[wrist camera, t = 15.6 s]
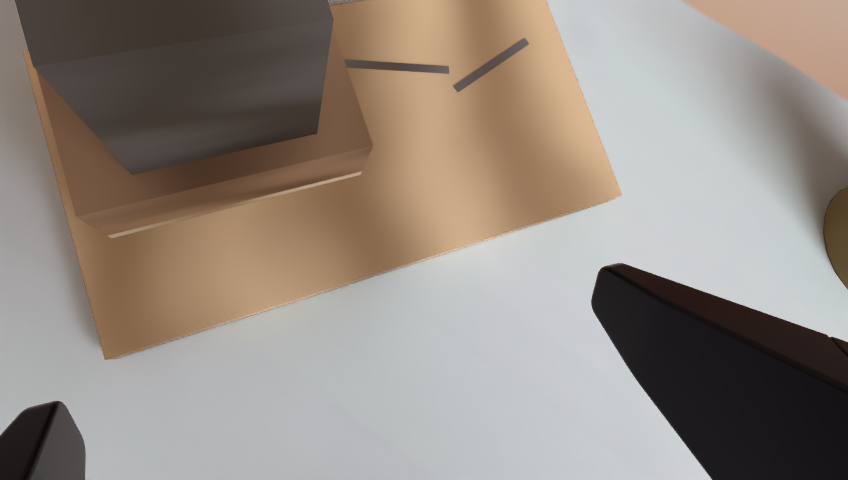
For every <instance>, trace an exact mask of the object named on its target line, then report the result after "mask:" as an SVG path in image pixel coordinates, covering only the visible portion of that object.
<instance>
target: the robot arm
mask: <svg viewBox="0 0 848 480" xmlns="http://www.w3.org/2000/svg"><path fill="white" fill-rule="evenodd" d="M591 304H592V309H593V311H594V313H595V315H596V317H597V318H598V320H599V321H600V323H601V325H602V326H603V328H604V329H605V331H606V333H607V334H608V336H609V337H610V339H611V341H612V342H613V344H614V346H615V347H616V349H617V350H618V352H619V354H620V355H621V357H622V358H623V360H624V362H625V363H626V365H627V366H628V368H629V370H630V371H631V373H632V374H633V376H634V377H635V378H636V380H637V381H638V383H639V384H640V385H641V387H642V388H643V389H644V391H645V392H646V393H647V395H648V396H649V397H650V399H651V400H652V401H653V402H654V404H655V405H656V406H657V408H658V409H659V410H660V412H661V413H662V414H663V416H664V417H665V418H666V420H667V421H668V422H669V424H670V425H671V426H672V427H673V429H674V430H675V431H676V433H677V434H678V435H679V437H680V438H681V439H682V441H683V442H684V443H685V445H686V446H687V447H688V448H689V450H690V451H691V452H692V454H693V455H694V456H695V458H696V459H697V460H698V462H699V463H700V464H701V466H702V467H703V468H704V469H705V471H706V472H707V473H708V475H709V476H710V477H711V479H712V480H848V342H846V341H843V340H840V339H837V338H834V337H828V336H827V335H826V334H823V333H820V332H817V331H814V330H811V329H808V328H806V327H803V326H800V325H797V324H794V323H791V322H788V321H786V320H783V319H780V318H777V317H774V316H771V315H768V314H766V313H763V312H760V311H757V310H754V309H751V308H749V307H746V306H743V305H740V304H737V303H734V302H731V301H729V300H726V299H723V298H720V297H717V296H714V295H711V294H709V293H706V292H703V291H700V290H697V289H694V288H691V287H689V286H686V285H683V284H680V283H677V282H674V281H672V280H669V279H666V278H663V277H660V276H657V275H654V274H652V273H649V272H646V271H643V270H640V269H637V268H634V267H632V266H629V265H626V264H623V263H617V264H613V265H608V266H605V267H603V268H601V269H600V271H599V272H598V275H597V279H596V283H595V287H594V291H593V295H592V300H591ZM85 456H86V455H85V445H84V441H83V438H82V435H81V434H80V432H79V430H78V428H77V426H76V424H75V422H74V420H73V418H72V417H71V415H70V413H69V411H68V409H67V407H66V406H65V405H64V404H63V403H62V402H60V401H53V402H49V403H45V404H41V405H37V406H33V407H29V408H27V409H25V410H24V411H22V412H21V413H20V414H19V415H18V416H17V417H16V419H15V420H14V421H13V422H12V423H11V424H10V425H9V426H8V427H7V429H6V430H5V431H4V432H3V433H2V434H1V435H0V480H85Z"/></svg>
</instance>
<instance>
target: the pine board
mask: <svg viewBox="0 0 848 480" xmlns="http://www.w3.org/2000/svg"><path fill="white" fill-rule="evenodd" d="M329 7H330V10H331V13H332V16H333V19H334V21H333V29H334V31H335V34H336V37H337V40H338V43H339V46H340V49H341V52H342V55H343V58H344V61H345V64H346V67H347V70H348V73H349V76H350V79H351V82H352V84H353V87H354V90H355V93H356V96H357V99H358V102H359V105H360V108H361V111H362V114H363V117H364V120H365V123H366V126H367V129H368V132H369V134H370V137H371V140H372V143H373V148H372V150H371V152H370V154H369V157H368V159H367V161H366V164H365V166H364V168H363V170H362V173H361V175H358V176H354V177H350V178H346V179H342V180H338V181H334V182H331V183H327V184H323V185H319V186H315V187H311V188H307V189H303V190H299V191H295V192H291V193H287V194H284V195H280V196H276V197H272V198H268V199H264V200H260V201H256V202H252V203H248V204H244V205H240V206H237V207H233V208H229V209H225V210H221V211H217V212H213V213H209V214H205V215H201V216H197V217H193V218H190V219H186V220H182V221H178V222H174V223H170V224H166V225H162V226H158V227H154V228H150V229H147V230H143V231H139V232H135V233H131V234H127V235H123V236H119V237H115V238H110V237H108V236H107V235H105V234H103V233H102V232H100V231H98V230H97V229H95V228H93V227H92V226H90V225H88V224H87V223H85V222H83V221H82V220H80V219H79V218H77V217H76V215H75V212H74V208H73V204H72V201H71V197H70V193H69V190H68V186H67V182H66V178H65V175H64V171H63V167H62V164H61V160H60V156H59V153H58V149H57V145H56V141H55V138H54V134H53V130H52V127H51V123H50V119H49V116H48V112H47V108H46V105H45V101H44V97H43V93H42V90H41V86H40V82H39V79H38V75H37V71H36V69H35V68H34V67H33V65H32V61H31V57H30V54H29V50H27V51H23V55H24V59H25V62H26V66H27V70H28V74H29V77H30V81H31V85H32V89H33V92H34V96H35V100H36V104H37V107H38V111H39V115H40V119H41V122H42V126H43V130H44V133H45V137H46V141H47V145H48V148H49V152H50V156H51V160H52V163H53V167H54V171H55V175H56V178H57V182H58V186H59V190H60V193H61V197H62V201H63V205H64V208H65V212H66V216H67V219H68V223H69V227H70V231H71V234H72V238H73V242H74V246H75V249H76V253H77V257H78V261H79V264H80V268H81V272H82V276H83V279H84V283H85V287H86V291H87V294H88V298H89V302H90V305H91V309H92V313H93V317H94V320H95V324H96V328H97V332H98V335H99V339H100V343H101V347H102V350H103V354H104V358H105V360H108V359H117V358H120V357H123V356H126V355H129V354H132V353H135V352H139V351H142V350H145V349H148V348H151V347H154V346H157V345H161V344H164V343H167V342H170V341H173V340H176V339H179V338H182V337H186V336H189V335H192V334H195V333H198V332H201V331H204V330H207V329H211V328H214V327H217V326H220V325H223V324H226V323H229V322H233V321H236V320H239V319H242V318H245V317H248V316H251V315H254V314H258V313H261V312H264V311H267V310H270V309H273V308H276V307H279V306H283V305H286V304H289V303H292V302H295V301H298V300H301V299H305V298H308V297H311V296H314V295H317V294H320V293H323V292H326V291H330V290H333V289H336V288H339V287H342V286H345V285H348V284H351V283H355V282H358V281H361V280H364V279H367V278H370V277H373V276H377V275H380V274H383V273H386V272H389V271H392V270H395V269H398V268H402V267H405V266H408V265H411V264H414V263H417V262H420V261H424V260H427V259H430V258H433V257H436V256H439V255H442V254H445V253H449V252H452V251H455V250H458V249H461V248H464V247H467V246H470V245H474V244H477V243H480V242H483V241H486V240H489V239H492V238H496V237H499V236H502V235H505V234H508V233H511V232H514V231H517V230H521V229H524V228H527V227H530V226H533V225H536V224H539V223H542V222H546V221H549V220H552V219H555V218H558V217H561V216H564V215H568V214H571V213H574V212H577V211H580V210H583V209H586V208H589V207H593V206H596V205H599V204H602V203H605V202H608V201H610V200H613V199H615V198H617V197H619V196H622V194H621V191H620V188H619V186H618V183H617V181H616V178H615V176H614V173H613V170H612V168H611V165H610V163H609V160H608V158H607V155H606V152H605V150H604V147H603V145H602V142H601V140H600V137H599V134H598V132H597V129H596V127H595V124H594V122H593V119H592V116H591V114H590V111H589V109H588V106H587V104H586V101H585V98H584V96H583V93H582V91H581V88H580V86H579V83H578V80H577V78H576V75H575V73H574V70H573V68H572V65H571V62H570V60H569V57H568V55H567V52H566V50H565V47H564V44H563V42H562V39H561V37H560V34H559V32H558V29H557V26H556V24H555V21H554V19H553V16H552V14H551V11H550V8H549V6H548V3H547V1H546V0H366V1H359V2H352V3H345V4H339V5H332V6H329Z"/></svg>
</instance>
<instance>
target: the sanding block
mask: <svg viewBox="0 0 848 480" xmlns="http://www.w3.org/2000/svg"><path fill="white" fill-rule="evenodd" d="M15 2H16V5H17V9H18V13H19V17H20V20H21V24H22V28H23V31H24V35H25V39H26V42H27V46H28V50H29V54H30V57H31V61H32V65H33V67H34V68H35V69H36V71H37V75H38V79H39V82H40V86H41V90H42V93H43V97H44V101H45V105H46V108H47V112H48V116H49V119H50V123H51V127H52V130H53V134H54V138H55V141H56V145H57V149H58V153H59V156H60V160H61V164H62V167H63V171H64V175H65V178H66V182H67V186H68V190H69V193H70V197H71V201H72V204H73V208H74V212H75V215H76V217H77V218H79V219H80V220H82V221H83V222H85V223H87V224H88V225H90V226H92V227H93V228H95V229H97V230H98V231H100V232H102V233H103V234H105V235H107V236H108V237H110V238H115V237H119V236H123V235H127V234H131V233H135V232H139V231H143V230H147V229H150V228H154V227H158V226H162V225H166V224H170V223H174V222H178V221H182V220H186V219H190V218H193V217H197V216H201V215H205V214H209V213H213V212H217V211H221V210H225V209H229V208H233V207H237V206H240V205H244V204H248V203H252V202H256V201H260V200H264V199H268V198H272V197H276V196H280V195H284V194H287V193H291V192H295V191H299V190H303V189H307V188H311V187H315V186H319V185H323V184H327V183H331V182H334V181H338V180H342V179H346V178H350V177H354V176H358V175H361V173H362V170H363V168H364V166H365V164H366V161H367V159H368V157H369V154H370V152H371V150H372V148H373V143H372V140H371V137H370V134H369V132H368V129H367V126H366V123H365V120H364V117H363V114H362V111H361V108H360V105H359V102H358V99H357V96H356V93H355V90H354V87H353V84H352V82H351V79H350V76H349V73H348V70H347V67H346V64H345V61H344V58H343V55H342V52H341V49H340V46H339V43H338V40H337V37H336V34H335V31H334V29H333V21H334V19H333V16H332V13H331V10H330V7H329V4H328V1H327V0H15Z"/></svg>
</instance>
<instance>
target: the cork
mask: <svg viewBox="0 0 848 480" xmlns="http://www.w3.org/2000/svg"><path fill="white" fill-rule="evenodd" d="M824 238H825V244H826V249H827V254H828V256H829V258H830V261H831V263H832V265H833V268H834V270H835V272H836V274H837V275H838V276H839V278H840V279H841V280H842V282H843V283H844V284H845V286H846V287H847V288H848V188H845V189H843V190H841V191H840V192H839V193H838V194H837V195H836V196H835V197H834V198H833V199H832V200H831V202H830V204H829V207H828V209H827V212H826V214H825V223H824Z"/></svg>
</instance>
